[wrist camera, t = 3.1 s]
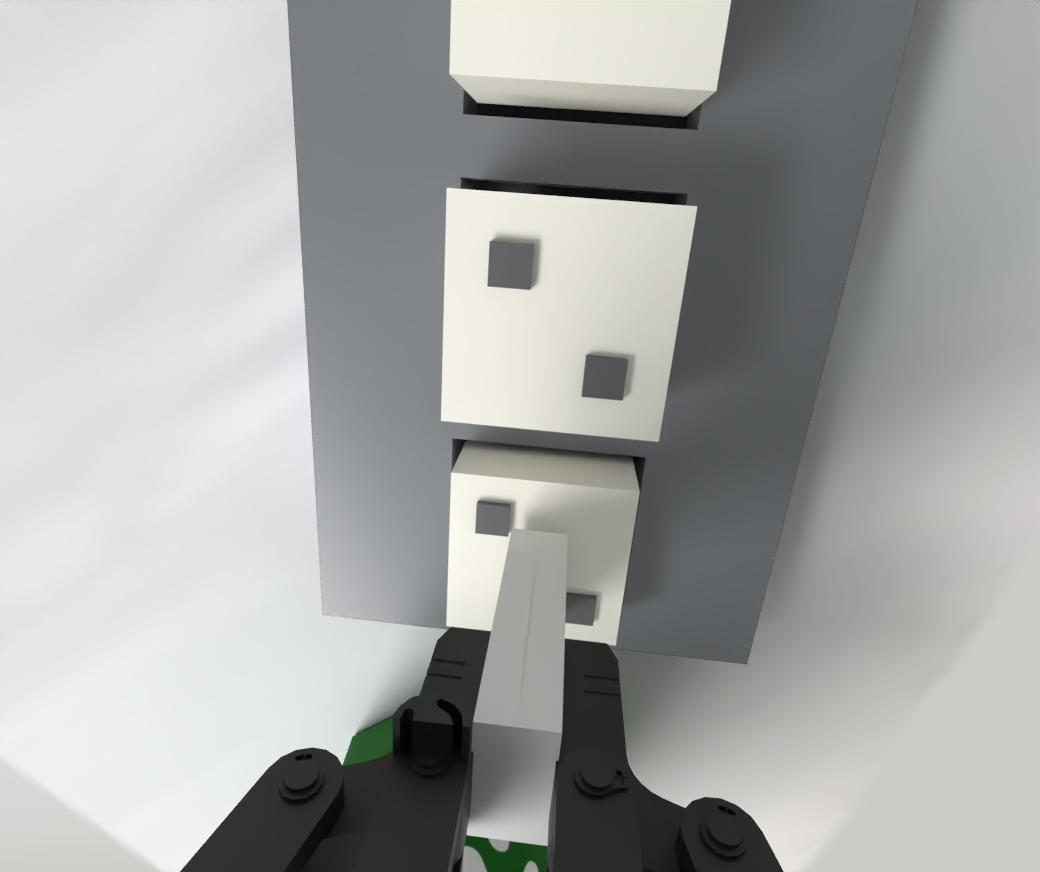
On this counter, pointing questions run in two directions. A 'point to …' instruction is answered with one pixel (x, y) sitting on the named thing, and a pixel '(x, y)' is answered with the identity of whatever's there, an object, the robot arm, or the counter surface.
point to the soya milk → (486, 862)
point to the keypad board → (703, 315)
